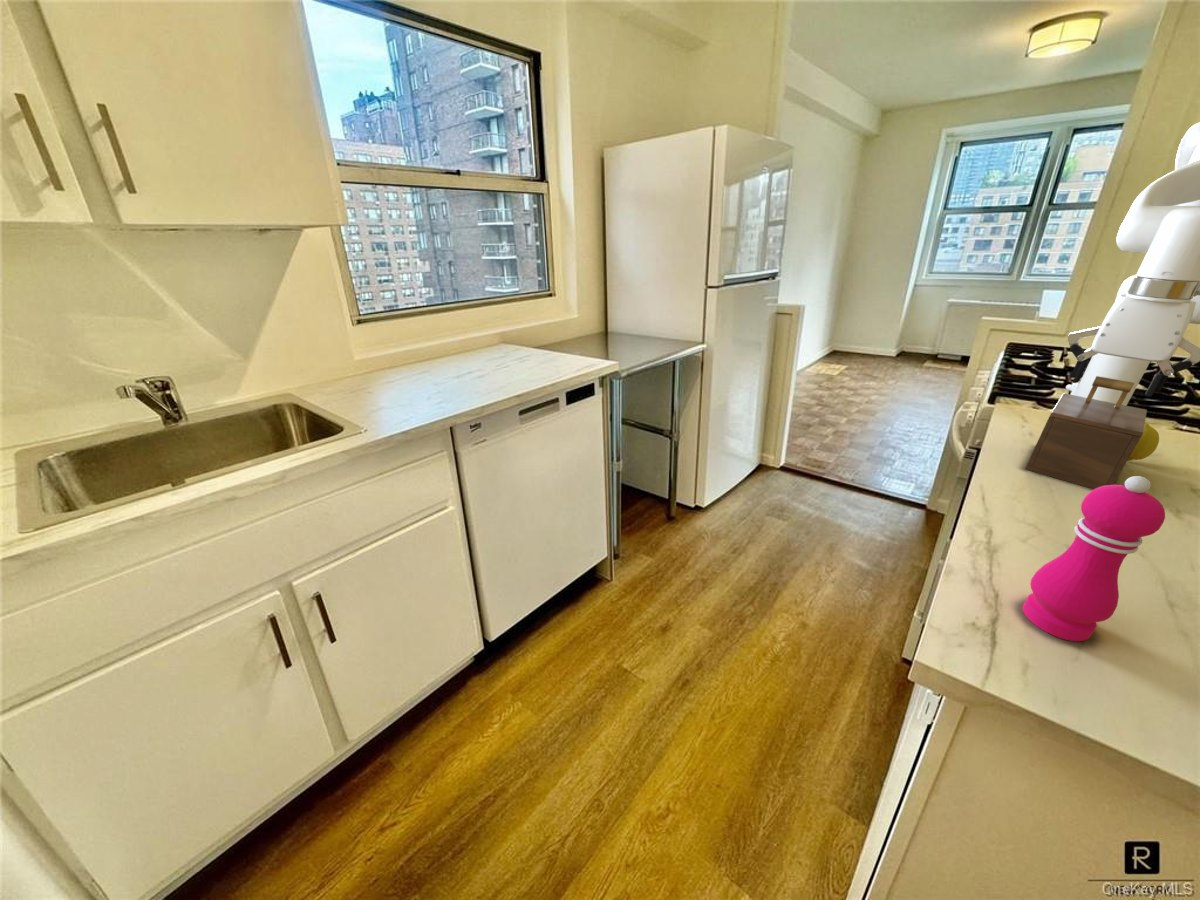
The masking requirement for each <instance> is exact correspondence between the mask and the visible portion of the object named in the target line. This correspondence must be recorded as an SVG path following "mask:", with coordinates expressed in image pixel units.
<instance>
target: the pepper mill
mask: <svg viewBox="0 0 1200 900" xmlns="http://www.w3.org/2000/svg"><path fill="white" fill-rule="evenodd" d="M1151 485H1152V484H1151V481H1150V480H1149V479H1148V478H1146V477H1144V476H1141V475H1134V476H1133V475H1132V476H1130V477H1128V478H1126V480H1125V481H1124V485H1123V484H1114V485H1105V486H1101V487H1098V488H1096V489H1092V490H1090V491H1089V492H1088V493H1087V494H1086V495H1085V497H1084V498H1083V499H1082V502H1081V505H1080V511H1081V514H1082V515H1083V517H1081V518H1079V519H1078V522H1077V525H1075V526H1074V528H1073V530H1074V533H1075V534H1076V535H1075V538H1074V540H1073V541H1072V542H1071V544H1070V545H1069V546H1068V548H1067V549H1066V550H1065V551H1063V553H1061V554H1060V555H1059V556H1057V557H1056V558H1054V559H1052V560H1050V561H1048V562H1047V563H1045V564H1043V565H1042V566H1041V567H1040V568H1039V569H1037V571H1036V572H1034V574H1033V576H1032V578H1031V579H1030V584H1029V585H1030V589H1031V591H1032V592H1031V593H1029V595H1028V596H1027V598H1026V599H1025V601H1024V603H1023V605H1022V611H1023V614H1024V615H1025V617H1026V618H1027V619H1028V620H1029V621H1030V623H1031V624H1033V625H1034V626H1035V627H1037V628H1039V629H1040V630H1042V631H1044V632H1045V633H1047V634H1049V635H1051V636H1054V637H1056V638H1059V639H1062V640H1065V641H1070V642H1083V641H1084V642H1085V641H1087V640H1089V639H1090V638H1091V637H1092V635H1093V633H1094V632H1095V630H1096V628H1097V626H1098V624H1097V623H1099V622H1105V621H1107V620H1108V619H1110V618H1111V617H1112V616H1113V615H1114V613H1115V611H1116V609H1117V607H1118V603H1119V598H1120V594H1119V583H1118V582H1119V581H1118V580H1119V572H1120V568H1121V566H1122V564H1123V561H1124V560H1125V559H1126V557H1127V556H1128V555H1130V554H1135V553H1137V552H1138V550H1139V546H1141V545H1142V544H1143V541H1144V540H1143V537H1147V536H1151V535H1153V534H1155V533H1156V532H1158V531H1159V530H1160V529H1161V528H1162V526H1163V525H1164V523H1165V519H1166V511H1165V508H1164V506H1163V504H1162V503H1161V501H1160V500H1159V499H1157V498H1156V497H1155V496H1153V495H1152V494H1150V493H1149V492H1148V491H1149V490H1150V489H1151Z"/></svg>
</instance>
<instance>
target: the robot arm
mask: <svg viewBox="0 0 1200 900" xmlns="http://www.w3.org/2000/svg"><path fill="white" fill-rule="evenodd" d="M1177 149H1178V150H1177V152H1176V157H1175V165H1174V170H1172V171H1170V172H1168V173H1167V174H1165V175H1163V176H1161V177H1160V178H1157V179H1156V180H1154V181H1153V182H1152V183H1150V184H1149V185H1148V186H1147V187H1145V188H1144V189H1143V190H1142V191H1141V192H1140V193H1139V194H1138V196H1137V197H1136V198H1135V199H1134V201H1133V203H1132V204H1131V206H1130V208H1129V210H1128V212H1127V214H1126V215H1125V218H1124V219H1123V222H1122V223H1121V225H1120V227H1119V229H1118V231H1117V235H1116V247H1117V248H1118V249H1119V250H1120V251H1123V252H1125V253H1131V254H1145V256H1144V258H1143V259H1142V262H1141V264H1140V266H1139V268H1138V270H1137V271H1136V274H1134V275H1131V276H1130V277H1128V278H1126V279H1125V280H1124V281H1123V282H1122V284H1121V285H1120V287H1119V289H1118V291H1117V293H1116V296H1115V300H1114V303H1113V304H1112V306H1111V307H1110V308H1109V310H1108V312H1107V313H1106V315H1105V317H1104V318H1103V321H1102V323H1101V325H1100V326H1097V327H1092V328H1087V329H1082V330H1079V331H1074V332H1070V333H1068V335H1067V340H1068V346H1069V350H1070V351H1071V353H1072V355H1073V356H1074V357H1075V358H1076V363H1075V365H1074V368H1073V370H1072V372H1071V374H1070V377H1071V378H1074V379H1073V381H1072V383H1071V384H1067V385H1065V390H1067V391H1070V395H1075V396H1080V397H1085V398H1087V397H1088V395H1089V393H1090V391H1091V389H1092V387H1093V386H1092V384H1093V382H1094V380H1095V378H1096V376H1099V377H1105V378H1111V379H1116V380H1122V381H1128V382H1133V383H1134V385H1133V387H1132V389H1131V391H1130V392H1128V394H1127V395H1126V397H1125V399H1124V401H1123V403H1122V405H1125V406H1128V404H1129V402H1130V400H1131V398H1132V396H1133V394H1134V393H1135V391H1136V389H1137V387H1138V385H1139V383H1140V382H1141V380H1142V378H1143V376H1144V374H1145V372H1146V371H1147V369H1148V367H1149V365H1150V363H1151V362H1152V363H1156V364H1157V365H1158V367H1159V370H1158V371H1156V372H1155V375H1154V377H1153V378H1152V380H1151V382H1150V383H1149V385H1148V387H1147V389H1146V391H1145V395H1144V396H1146V397H1148V398H1152V396H1153V394H1154V393H1161V390H1162V389H1163V387H1164V385H1165V383H1166V382H1167V381H1168V378H1169V377H1170V376H1173V374H1176V373H1179V372H1181V371H1184V370H1188V369H1190V368H1192V367H1193V366H1194V365H1196V364H1197V363H1199V362H1200V346H1199V345H1197V344H1195V343H1193V342H1192V341H1190V340H1188V339H1187V338H1185V337H1184V336H1185V333H1186V331H1187V329H1188V327H1189V325H1190V324H1192V325H1200V121H1198V122H1196V123H1195V124H1193V125H1192V126H1191V127H1190V128H1188V130H1186V132H1185V133H1184V135H1183V137H1182V139H1181V141H1180V144H1179V146H1178V148H1177ZM1093 336H1094V338H1093V340H1092V344H1091V347H1089V348H1087V349H1085V350H1084V348H1083V347H1082V346H1081V345H1080V339H1083V338H1089V337H1093ZM1178 348H1180V349H1182V350H1184V351H1185V352H1187V353H1189V354H1190V356H1188V357H1187V358H1185V359H1183V360H1180V361H1178V362H1176V363H1173V364H1172V362H1171V360H1170V359H1171V358H1172V357H1173V356H1174V355H1175V353H1176V351H1177V349H1178ZM1089 359H1090V361H1089ZM1122 392H1123V391H1119V390H1113V389H1108V388H1103V387H1098V388H1097V390H1096V392H1095V394H1094V396H1093V398H1092V399H1095V400H1100V401H1105V402H1110V403H1115V404H1116V403H1117V401H1118V399H1119V397H1120V395H1121V393H1122Z"/></svg>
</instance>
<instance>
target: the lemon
mask: <svg viewBox="0 0 1200 900" xmlns="http://www.w3.org/2000/svg"><path fill="white" fill-rule="evenodd" d="M1159 442H1160V434H1159V432H1158V431H1157V430H1156V429H1155V428H1154V427H1153V426H1151V425H1150V424H1149V423H1146V422H1145V425H1144V431H1143V434H1142V436H1141V438H1140V439H1139V441H1138V443H1137V445H1136V446H1135V448H1134V450H1133V452H1132V453H1131V455H1130V457H1129V459H1128V460H1127V462H1131V461H1139V460H1143V459H1146V458H1148V457H1150V455H1152V454H1153V453H1154V452H1155V451H1156V450H1157V448H1158V445H1159Z"/></svg>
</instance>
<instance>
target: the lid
mask: <svg viewBox="0 0 1200 900" xmlns="http://www.w3.org/2000/svg"><path fill="white" fill-rule="evenodd" d="M1133 385H1134V383H1133V382H1128V381H1122V380H1116V379H1111V378H1105V377H1099V376H1096V378H1095V380H1094V382H1093V384H1092V386H1093V387H1092V389H1091V391H1090V393H1089V395H1088V397H1087V398H1085V397H1080V396H1075V395H1070V394H1071V393H1070V394H1069V393H1062V394H1061V396H1060V398H1059V399H1058V401H1057V403H1056V404H1055V405H1054V407H1053V408H1052V410H1051V412H1050V414H1049V416H1051V417H1055V418H1060V419H1064V420H1069V421H1073V422H1077V423H1082V424H1086V425H1091V426H1095V427H1099V428H1104V429H1108V430H1113V431H1117V432H1121V433H1126V434H1130V435H1135V436H1139V437H1141V436H1142V434H1143V431H1144V425H1145V423H1146V419H1147V413H1148V410H1147V409H1145V408H1140V407H1134V406H1129V405H1127V406H1125V405H1122V403H1123V401H1124V399H1125V397H1126V395H1127V394H1128V392H1130V391H1131V389H1132V387H1133ZM1098 387H1103V388H1108V389H1113V390H1119V391H1123V392H1122V393H1121V395H1120V397H1119V399H1118V401H1117V403H1116V404H1115V403H1110V402H1105V401H1100V400H1095V399H1092V398H1093V396H1094V394H1095V392H1096V390H1097V388H1098Z"/></svg>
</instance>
